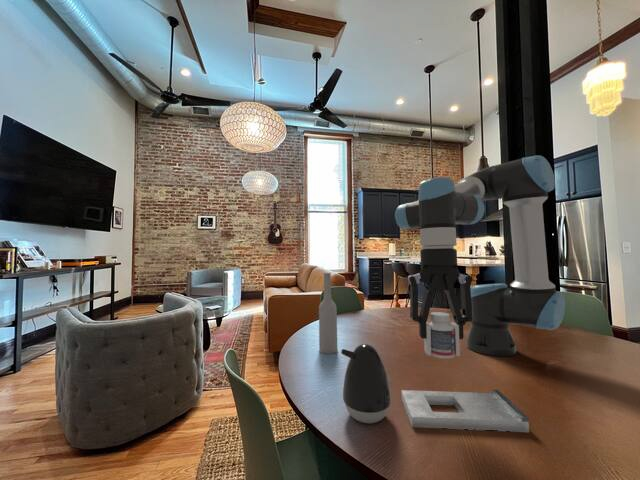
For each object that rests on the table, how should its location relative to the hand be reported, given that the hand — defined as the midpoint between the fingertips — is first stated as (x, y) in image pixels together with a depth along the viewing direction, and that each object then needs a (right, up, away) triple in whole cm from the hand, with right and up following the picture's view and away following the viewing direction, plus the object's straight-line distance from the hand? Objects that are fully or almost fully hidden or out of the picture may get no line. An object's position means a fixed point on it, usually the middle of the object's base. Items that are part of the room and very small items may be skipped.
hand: (441, 353), depth 61 cm
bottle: (-24, -15, +39) cm, 49 cm away
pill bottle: (0, 0, 0) cm, 0 cm away
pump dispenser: (-17, -13, -1) cm, 21 cm away
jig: (+3, -13, -1) cm, 13 cm away
